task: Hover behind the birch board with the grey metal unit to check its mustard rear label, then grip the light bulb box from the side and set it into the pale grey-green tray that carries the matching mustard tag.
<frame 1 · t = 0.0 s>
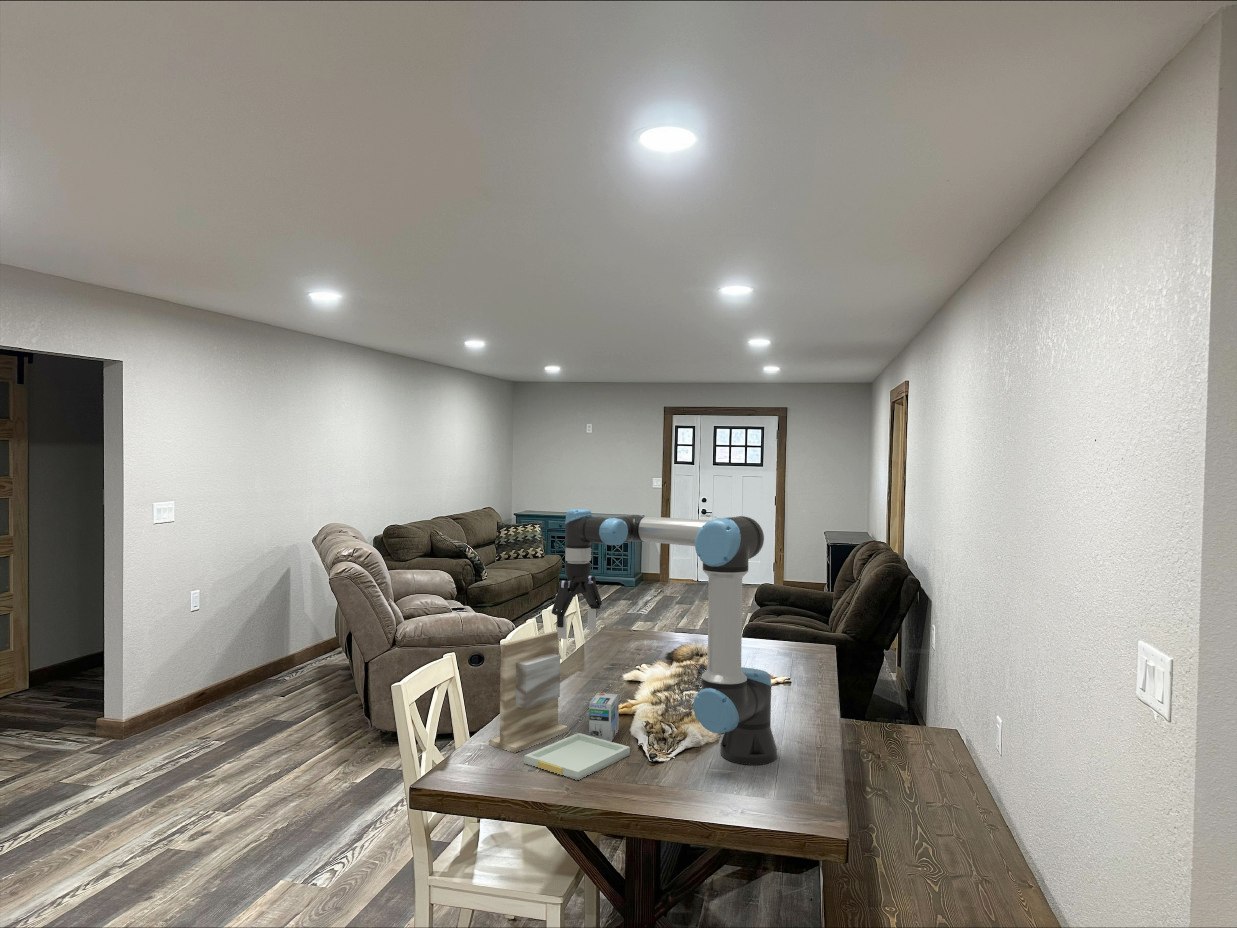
hand: (577, 634, 236), 28 cm above the table, tool pointing down, fingers open, 13 cm apart
wall unit: (529, 738, 229), on the table
light bulb box: (604, 736, 232), on the table
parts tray: (578, 759, 213), on the table
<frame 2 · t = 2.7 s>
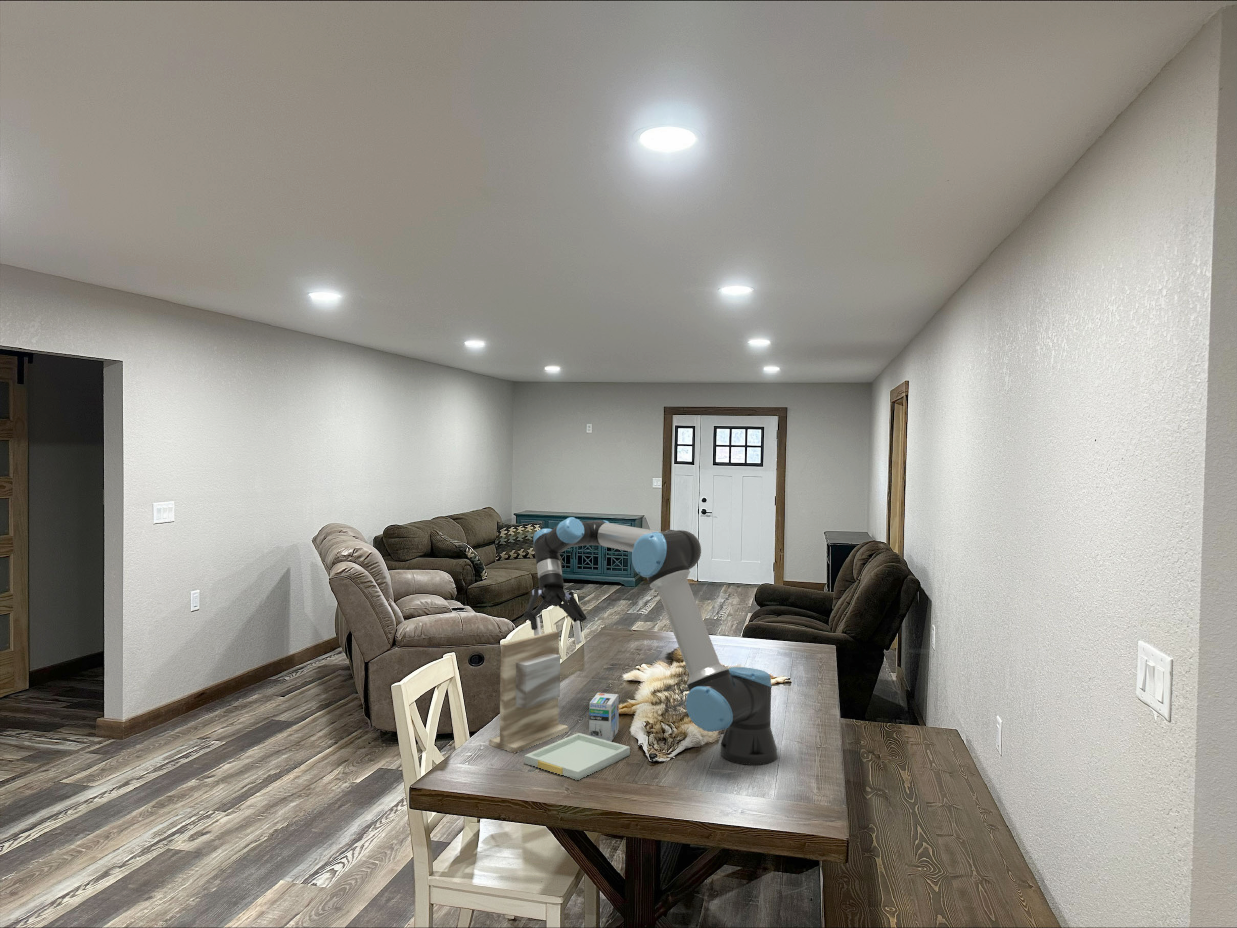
hand: (559, 642, 239), 25 cm above the table, tool tilted 35°, fingers open, 13 cm apart
nothing on the table moved.
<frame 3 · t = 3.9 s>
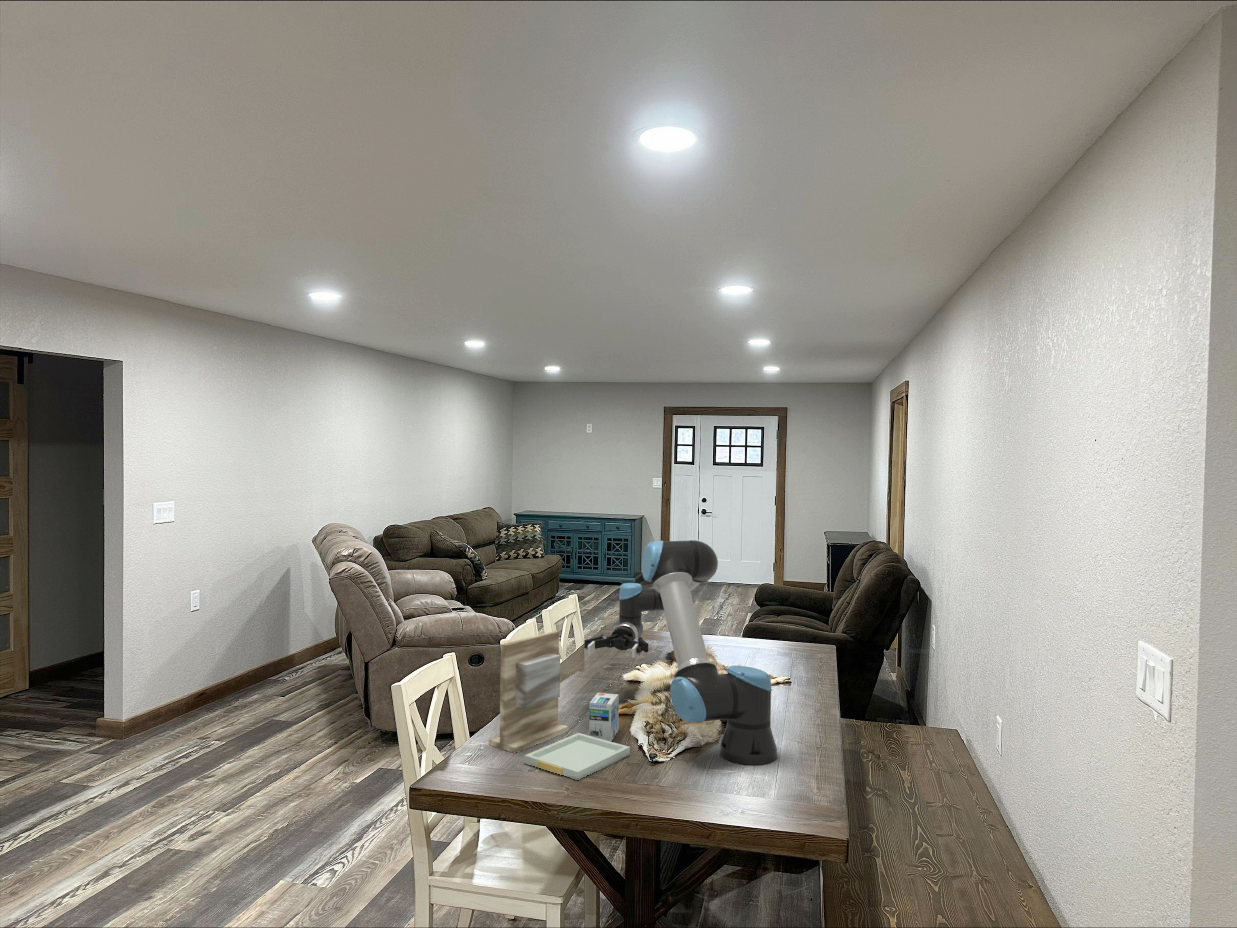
hand: (610, 651, 242), 22 cm above the table, tool horizontal, fingers open, 13 cm apart
nothing on the table moved.
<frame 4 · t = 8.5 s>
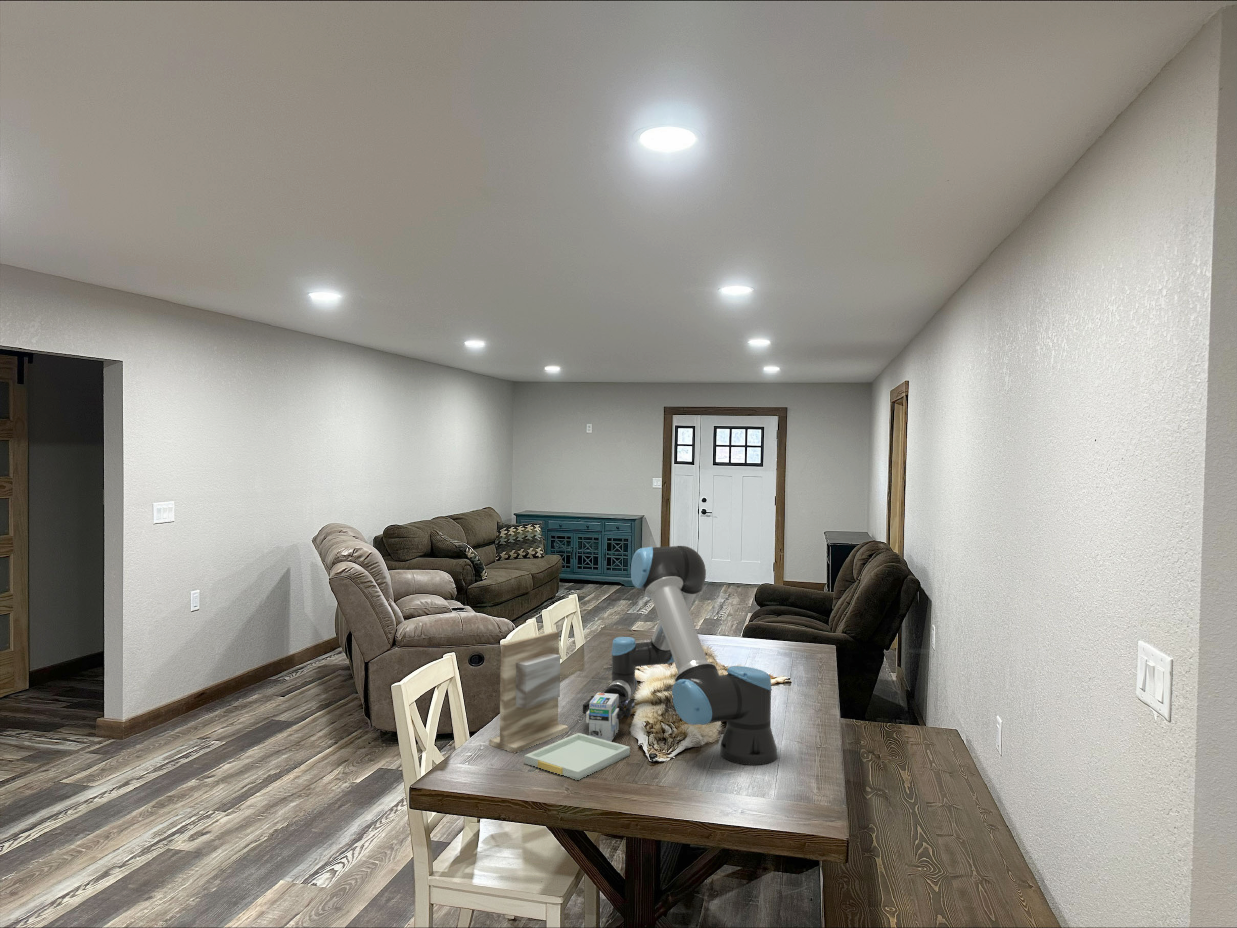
hand: (600, 718, 227), 6 cm above the table, tool horizontal, fingers closed on light bulb box, 7 cm apart
light bulb box: (603, 735, 232), on the table, touching gripper
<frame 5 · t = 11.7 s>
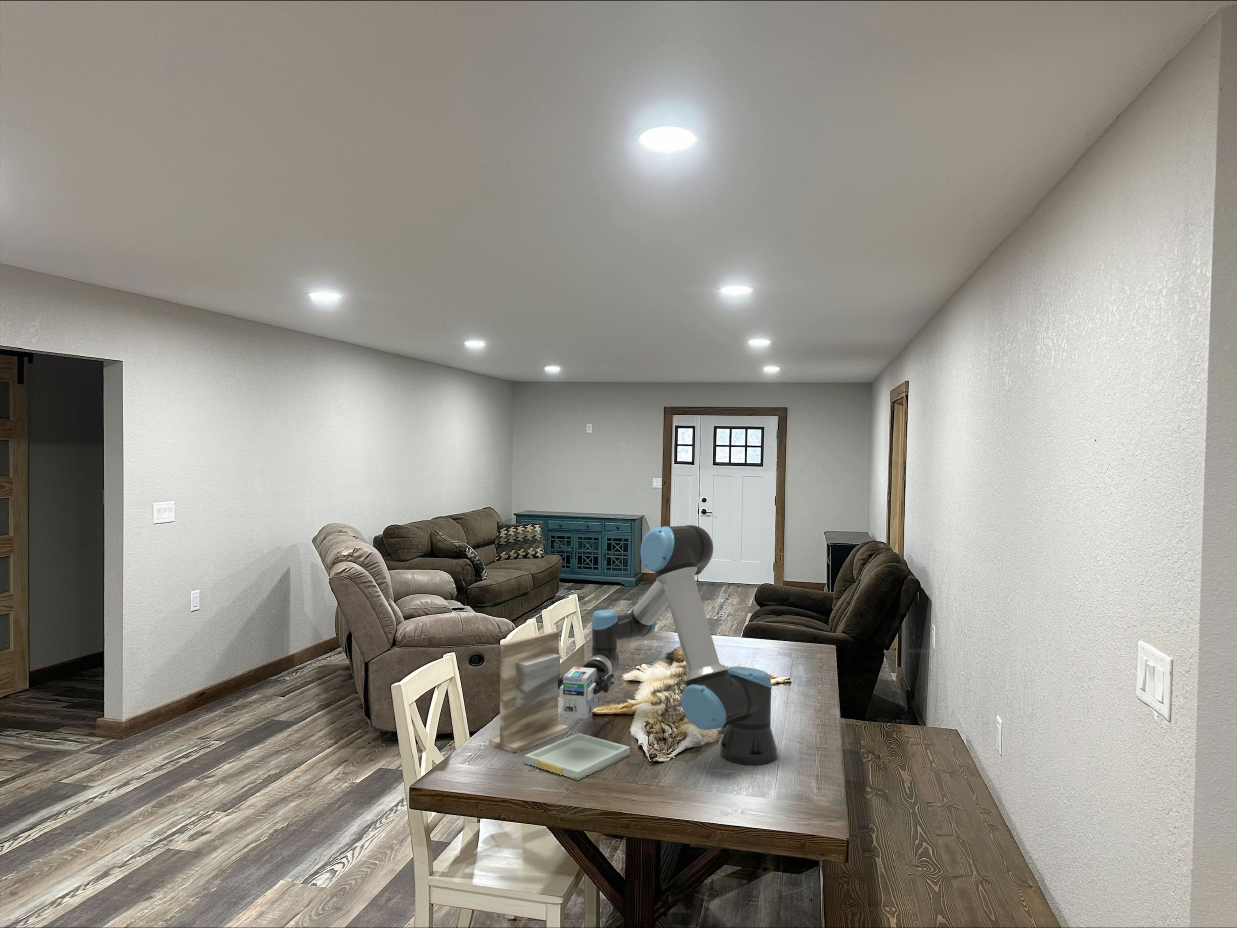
hand: (574, 693, 211), 18 cm above the table, tool horizontal, fingers closed on light bulb box, 7 cm apart
light bulb box: (579, 712, 216), point 11 cm above the table, touching gripper
when the fingers open (8 cm above the table, at t = 14.7 s): light bulb box drops 1 cm, resting on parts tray.
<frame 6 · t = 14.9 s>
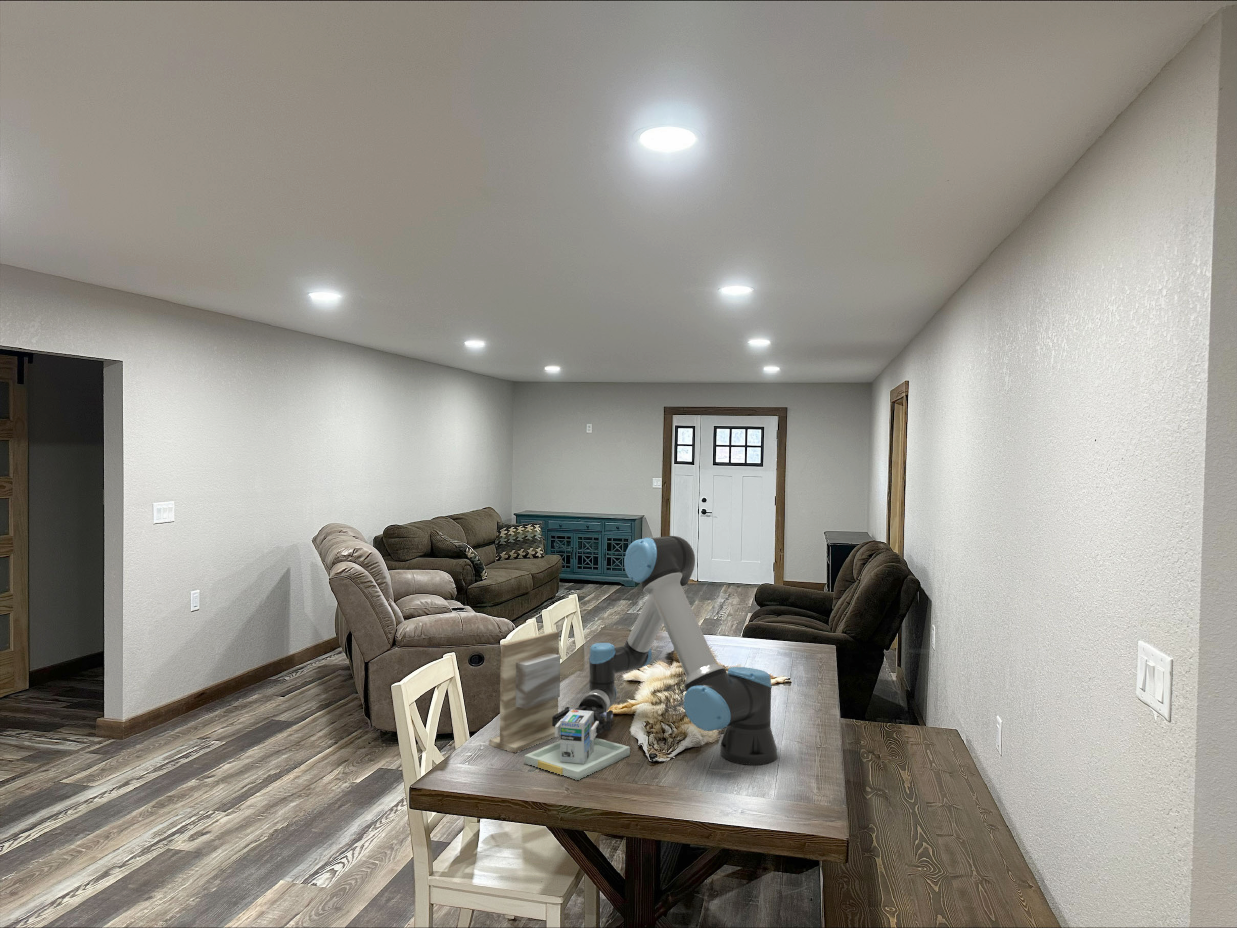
hand: (573, 732, 209), 8 cm above the table, tool horizontal, fingers open, 9 cm apart
light bulb box: (577, 756, 213), point 1 cm above the table, touching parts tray
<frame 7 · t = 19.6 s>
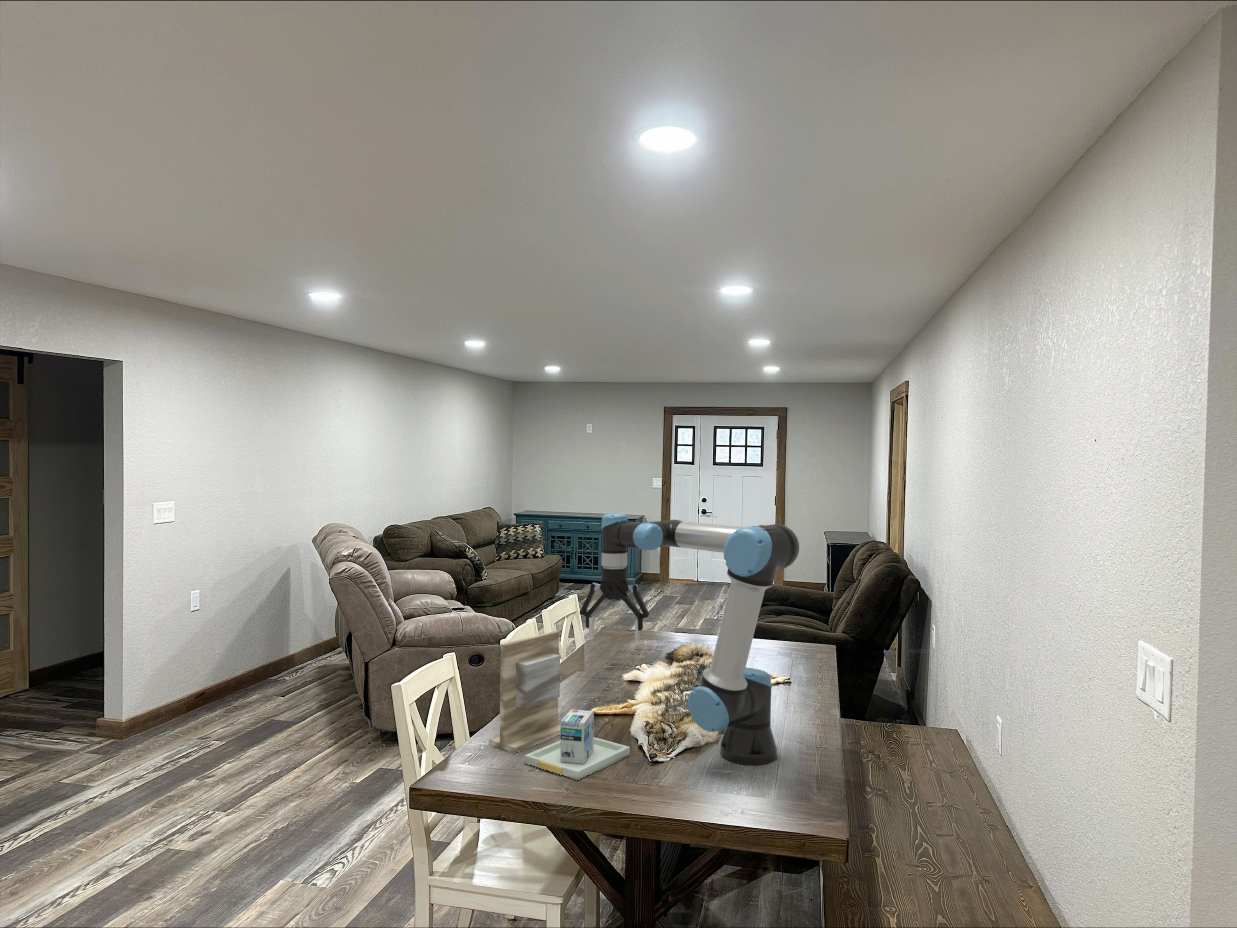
hand: (614, 640, 234), 27 cm above the table, tool pointing down, fingers open, 13 cm apart
nothing on the table moved.
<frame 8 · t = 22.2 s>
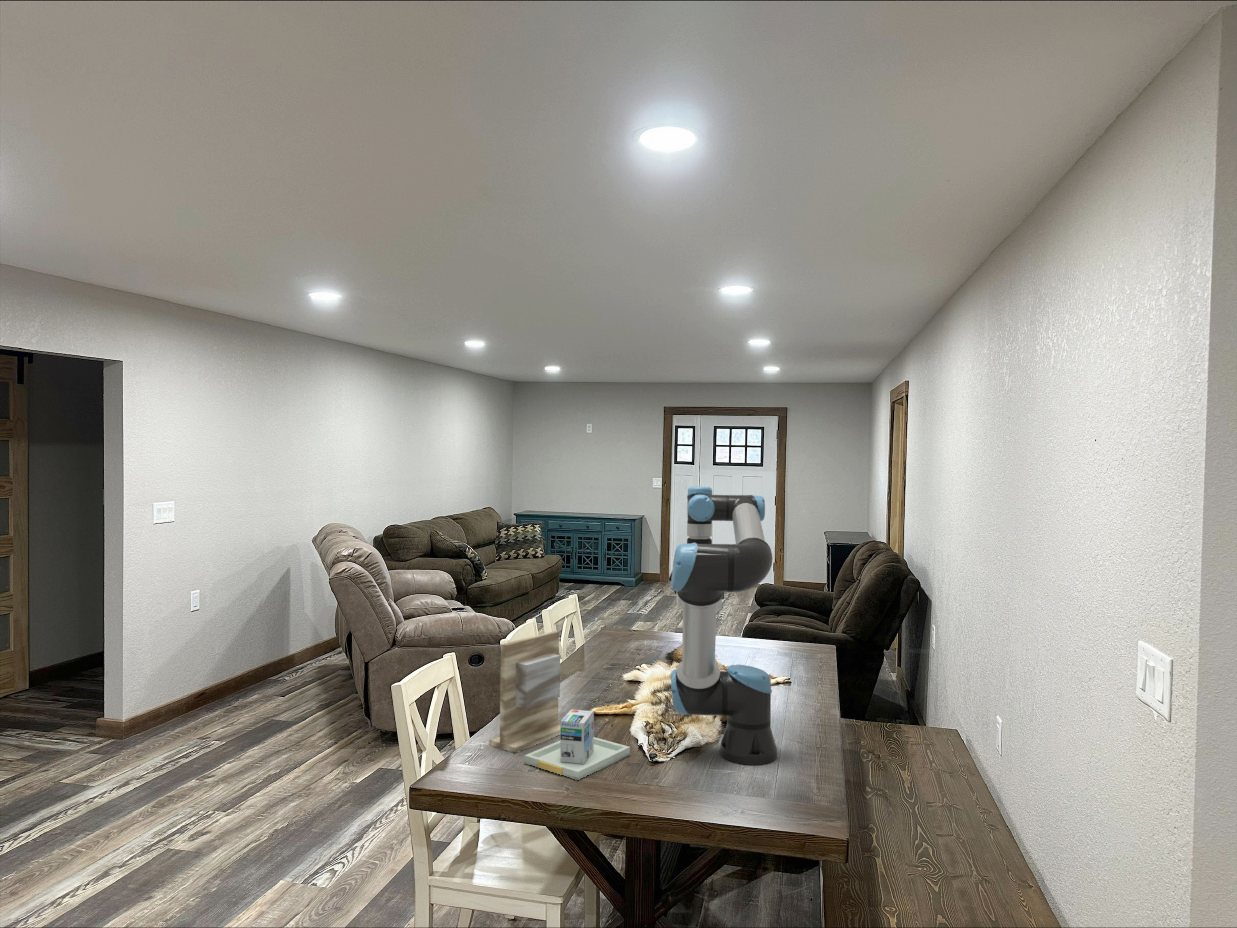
hand: (698, 607, 245), 35 cm above the table, tool pointing down, fingers open, 13 cm apart
nothing on the table moved.
at the end: light bulb box inside the target area on the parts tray (0.3 cm from its centre), point 0.6 cm above the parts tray's base; light bulb box tilted 0°; the gripper is holding nothing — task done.
